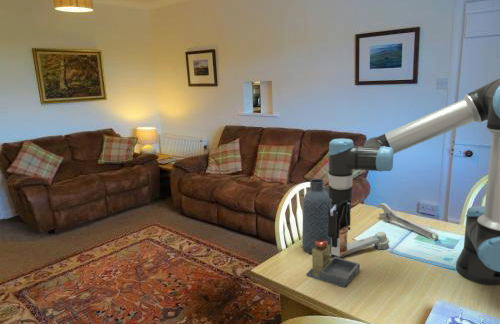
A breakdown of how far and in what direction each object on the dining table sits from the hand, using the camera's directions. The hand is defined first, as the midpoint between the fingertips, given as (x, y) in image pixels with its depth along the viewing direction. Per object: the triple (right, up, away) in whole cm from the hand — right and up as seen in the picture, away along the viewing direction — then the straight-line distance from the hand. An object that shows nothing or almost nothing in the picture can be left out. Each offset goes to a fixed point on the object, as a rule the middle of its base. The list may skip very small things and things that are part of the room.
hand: (339, 250), depth 124 cm
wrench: (+38, +1, +35) cm, 52 cm away
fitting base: (-1, -9, +4) cm, 9 cm away
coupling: (0, 0, 0) cm, 0 cm away
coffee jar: (+7, +1, +41) cm, 42 cm away
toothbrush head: (+13, -5, +17) cm, 22 cm away
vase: (-3, -4, +22) cm, 23 cm away
